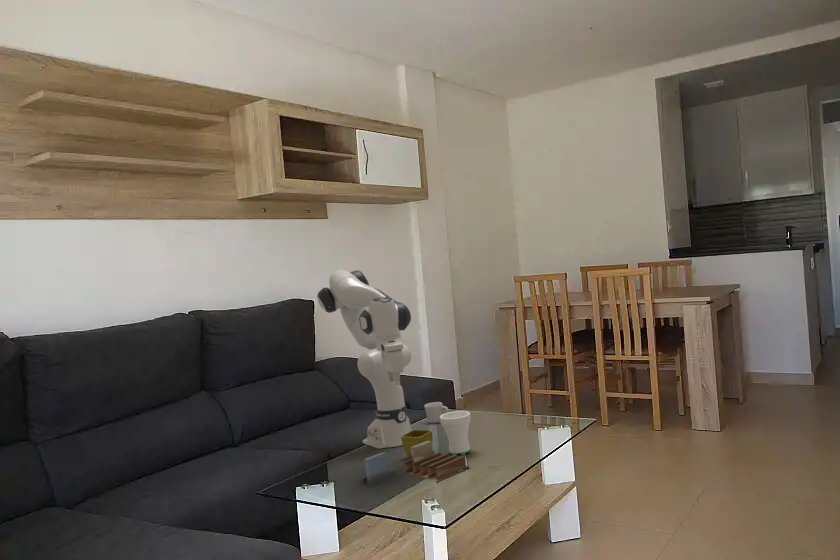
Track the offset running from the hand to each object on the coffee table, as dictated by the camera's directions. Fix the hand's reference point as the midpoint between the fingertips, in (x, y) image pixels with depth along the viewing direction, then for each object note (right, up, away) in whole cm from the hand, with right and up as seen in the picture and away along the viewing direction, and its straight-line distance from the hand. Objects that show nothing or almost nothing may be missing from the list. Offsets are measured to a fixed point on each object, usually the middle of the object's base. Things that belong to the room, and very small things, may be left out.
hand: (394, 383), depth 232 cm
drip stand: (-5, -32, -8) cm, 33 cm away
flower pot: (+9, -29, +14) cm, 34 cm away
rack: (+14, -29, -5) cm, 33 cm away
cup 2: (+23, -28, +13) cm, 38 cm away
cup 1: (+17, -27, +64) cm, 71 cm away
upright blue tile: (-5, -31, -8) cm, 32 cm away
